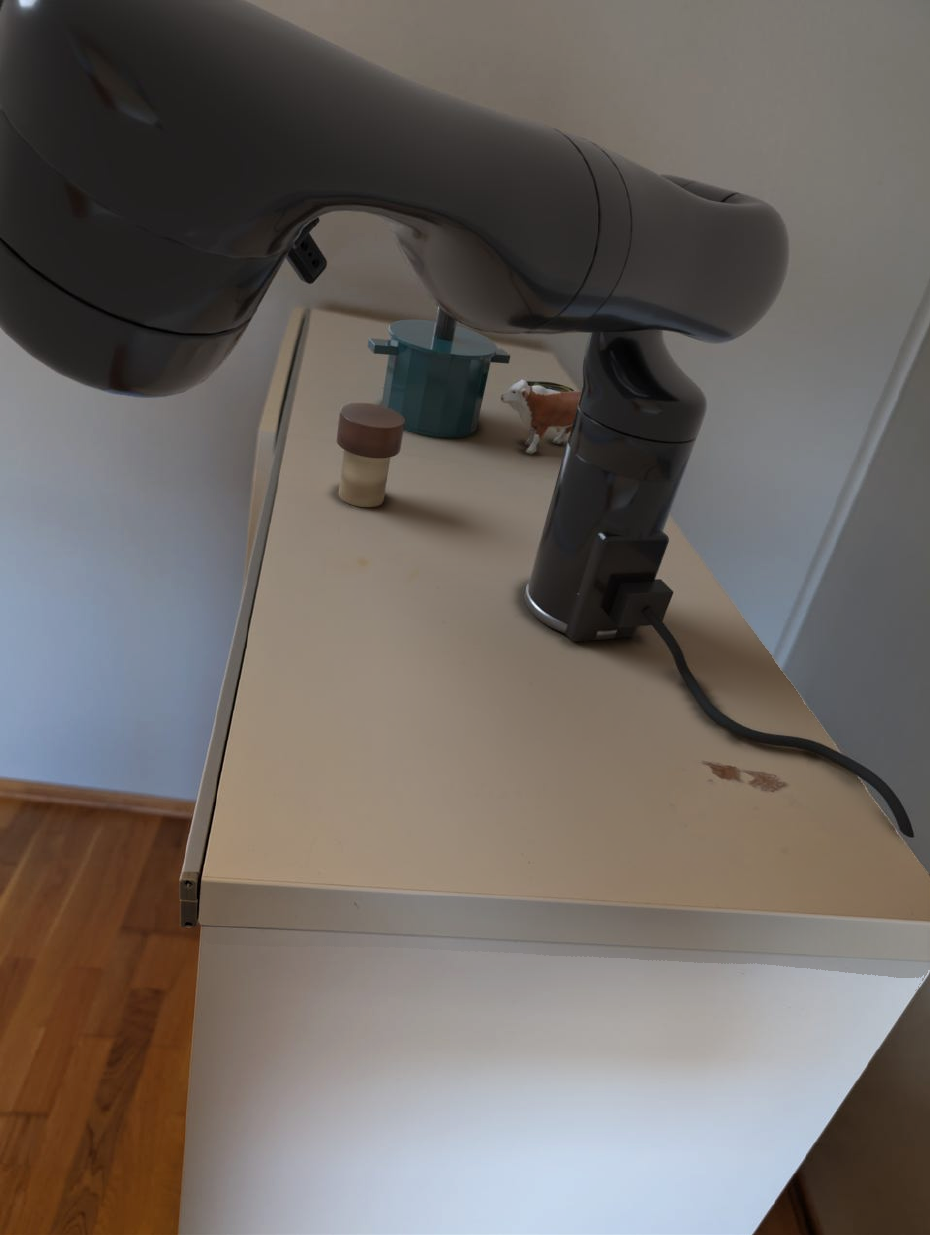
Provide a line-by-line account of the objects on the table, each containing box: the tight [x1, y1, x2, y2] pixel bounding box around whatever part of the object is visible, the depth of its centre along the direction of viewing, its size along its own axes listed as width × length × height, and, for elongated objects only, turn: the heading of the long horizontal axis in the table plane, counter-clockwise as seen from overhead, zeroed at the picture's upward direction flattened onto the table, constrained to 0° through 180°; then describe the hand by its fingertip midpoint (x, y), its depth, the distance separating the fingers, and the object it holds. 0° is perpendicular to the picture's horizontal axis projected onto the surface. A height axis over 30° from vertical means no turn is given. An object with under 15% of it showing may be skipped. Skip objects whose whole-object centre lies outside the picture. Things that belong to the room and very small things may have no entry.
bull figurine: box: [500, 379, 581, 455], centre depth 102 cm, size 4×13×8 cm, turn 115°
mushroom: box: [336, 402, 405, 508], centre depth 81 cm, size 6×6×8 cm
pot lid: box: [387, 306, 498, 360], centre depth 99 cm, size 13×13×5 cm
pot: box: [367, 336, 511, 439], centre depth 103 cm, size 12×17×10 cm
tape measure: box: [525, 380, 575, 392], centre depth 115 cm, size 7×7×4 cm
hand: (280, 257), depth 64 cm, fingers open, 8 cm apart
